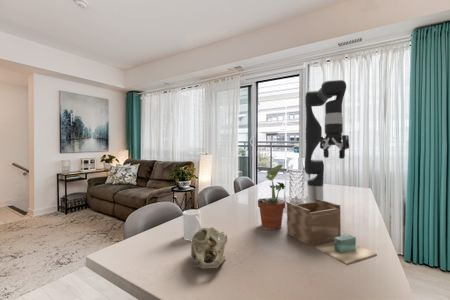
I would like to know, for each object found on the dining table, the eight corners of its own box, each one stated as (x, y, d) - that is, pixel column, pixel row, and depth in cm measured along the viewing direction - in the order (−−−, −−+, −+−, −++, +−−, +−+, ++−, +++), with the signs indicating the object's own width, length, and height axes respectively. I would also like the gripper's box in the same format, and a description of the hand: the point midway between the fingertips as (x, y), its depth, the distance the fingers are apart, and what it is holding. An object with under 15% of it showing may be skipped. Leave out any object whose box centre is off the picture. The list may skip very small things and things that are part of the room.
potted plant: (292, 226, 115) (292, 159, 115) (274, 233, 106) (273, 161, 105) (269, 218, 127) (268, 158, 127) (251, 225, 118) (250, 159, 117)
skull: (235, 278, 76) (193, 282, 69) (214, 247, 94) (180, 248, 88) (241, 247, 75) (199, 248, 69) (219, 221, 93) (185, 221, 87)
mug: (207, 240, 99) (207, 214, 99) (189, 245, 94) (189, 217, 94) (196, 232, 109) (196, 208, 109) (180, 236, 104) (179, 211, 104)
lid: (316, 249, 91) (315, 234, 90) (344, 242, 97) (344, 228, 97) (346, 266, 78) (346, 248, 78) (376, 256, 84) (376, 240, 84)
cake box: (287, 233, 106) (286, 202, 106) (317, 227, 113) (316, 198, 113) (308, 245, 93) (308, 210, 93) (340, 238, 100) (340, 205, 100)
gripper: (315, 124, 108) (316, 157, 108) (340, 121, 95) (341, 159, 95) (327, 125, 111) (327, 157, 111) (353, 122, 98) (353, 158, 98)
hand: (333, 158), depth 103 cm, fingers open, 8 cm apart
